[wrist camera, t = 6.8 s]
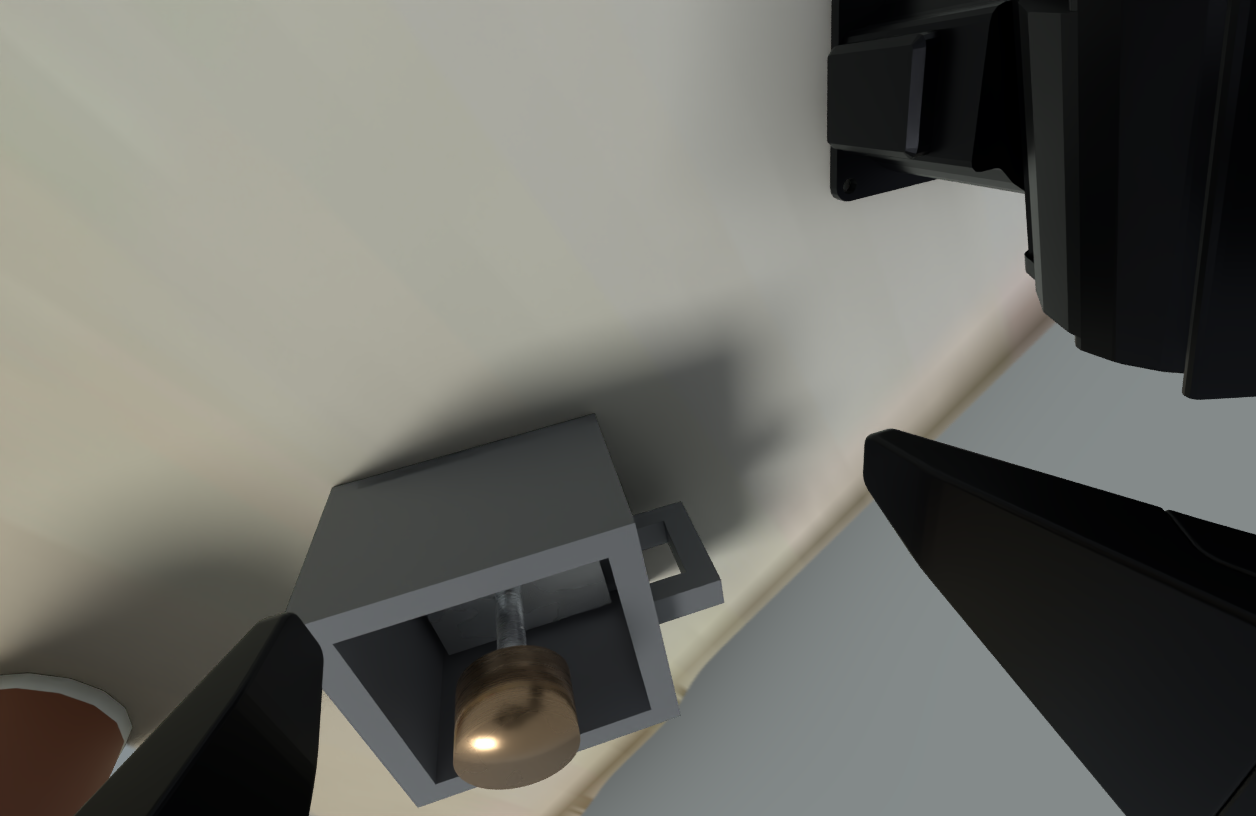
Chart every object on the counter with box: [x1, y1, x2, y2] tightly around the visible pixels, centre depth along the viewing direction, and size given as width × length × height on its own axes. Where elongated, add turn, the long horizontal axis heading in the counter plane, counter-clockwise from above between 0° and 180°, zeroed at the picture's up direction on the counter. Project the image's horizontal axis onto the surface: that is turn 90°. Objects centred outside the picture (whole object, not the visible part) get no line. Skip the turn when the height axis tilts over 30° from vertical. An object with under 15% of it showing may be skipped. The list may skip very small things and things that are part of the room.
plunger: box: [426, 561, 612, 790], centre depth 19 cm, size 7×7×8 cm
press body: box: [285, 414, 724, 807], centre depth 21 cm, size 12×10×6 cm
